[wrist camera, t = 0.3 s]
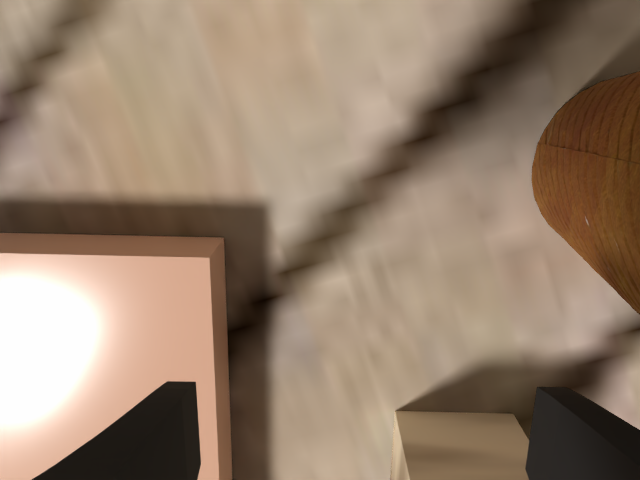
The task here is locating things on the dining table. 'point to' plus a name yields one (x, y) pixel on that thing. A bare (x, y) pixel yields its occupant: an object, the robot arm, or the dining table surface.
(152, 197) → the dining table surface
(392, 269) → the dining table surface
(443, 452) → the birch block
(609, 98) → the disposable coffee cup
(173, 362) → the terracotta base
